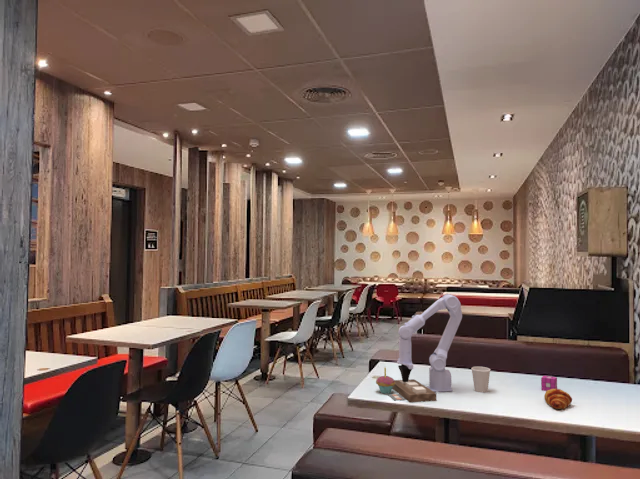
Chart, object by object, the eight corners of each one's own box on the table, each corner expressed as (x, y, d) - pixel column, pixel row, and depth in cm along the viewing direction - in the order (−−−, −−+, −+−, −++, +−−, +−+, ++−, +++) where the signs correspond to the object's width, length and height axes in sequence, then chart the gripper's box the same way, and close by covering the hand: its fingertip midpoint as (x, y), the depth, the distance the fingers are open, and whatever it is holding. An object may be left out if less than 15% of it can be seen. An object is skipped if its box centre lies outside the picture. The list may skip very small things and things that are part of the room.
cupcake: (394, 395, 201) (394, 367, 201) (375, 394, 202) (375, 366, 203) (395, 390, 209) (395, 363, 210) (376, 389, 211) (376, 362, 211)
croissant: (550, 404, 200) (540, 387, 202) (573, 396, 196) (563, 378, 199) (550, 418, 181) (539, 399, 183) (576, 409, 177) (564, 389, 180)
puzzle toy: (541, 390, 210) (541, 377, 211) (543, 387, 215) (543, 375, 215) (555, 392, 207) (554, 379, 207) (557, 389, 212) (557, 377, 212)
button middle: (414, 388, 206) (414, 381, 207) (418, 391, 202) (418, 384, 202) (405, 388, 206) (405, 382, 206) (409, 391, 201) (409, 384, 202)
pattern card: (399, 394, 202) (399, 393, 202) (405, 400, 194) (405, 399, 194) (388, 395, 201) (388, 394, 201) (394, 400, 193) (394, 399, 193)
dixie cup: (480, 394, 204) (480, 371, 204) (467, 389, 211) (467, 367, 212) (494, 392, 207) (494, 369, 207) (481, 387, 214) (481, 365, 215)
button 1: (408, 386, 214) (408, 380, 214) (411, 389, 210) (411, 382, 210) (399, 386, 213) (399, 380, 214) (402, 389, 209) (402, 382, 209)
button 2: (421, 393, 199) (421, 386, 199) (426, 396, 194) (426, 389, 194) (412, 393, 198) (412, 386, 198) (416, 396, 194) (416, 389, 194)
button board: (414, 385, 217) (414, 379, 217) (436, 400, 193) (436, 393, 193) (390, 386, 214) (390, 380, 215) (409, 402, 191) (409, 394, 191)
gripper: (391, 349, 219) (391, 378, 218) (402, 355, 205) (402, 386, 204) (405, 348, 220) (405, 377, 220) (417, 354, 206) (417, 385, 205)
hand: (405, 381), depth 212 cm, fingers closed, pressing on button 1
